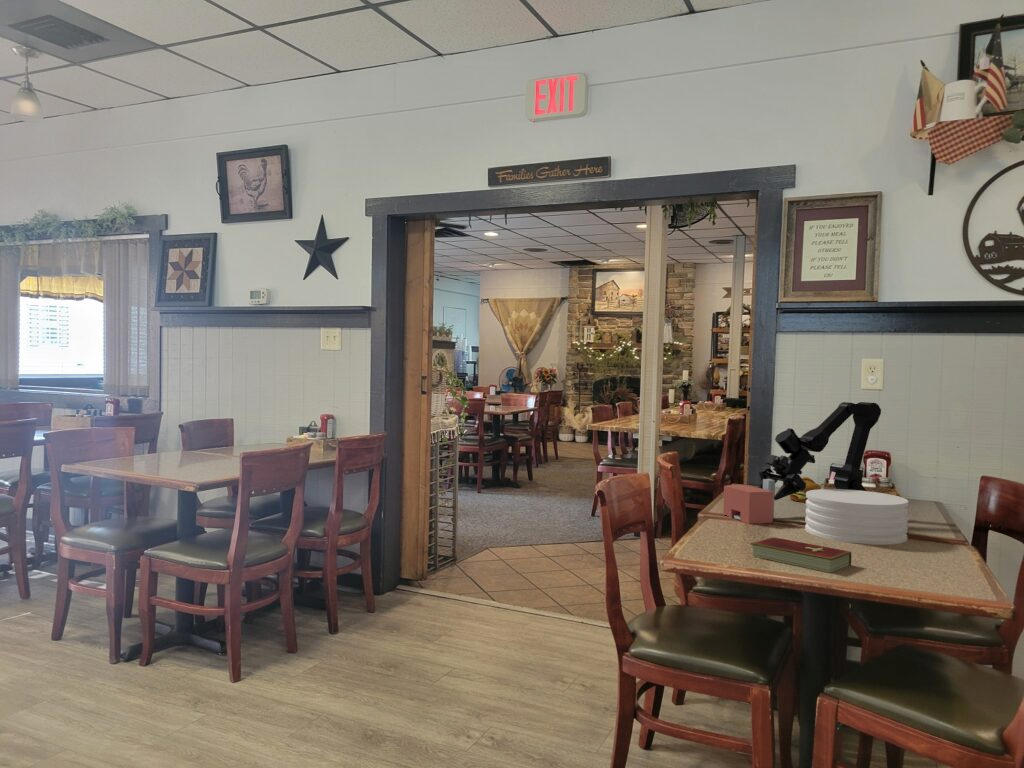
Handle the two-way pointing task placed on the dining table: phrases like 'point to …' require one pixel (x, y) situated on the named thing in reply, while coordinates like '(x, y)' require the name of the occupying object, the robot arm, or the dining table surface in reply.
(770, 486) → the light blue l-shaped piece
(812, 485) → the cheeseburger
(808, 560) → the hardcover book
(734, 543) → the dining table surface
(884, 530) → the plate stack
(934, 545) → the dining table surface
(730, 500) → the block
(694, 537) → the dining table surface
